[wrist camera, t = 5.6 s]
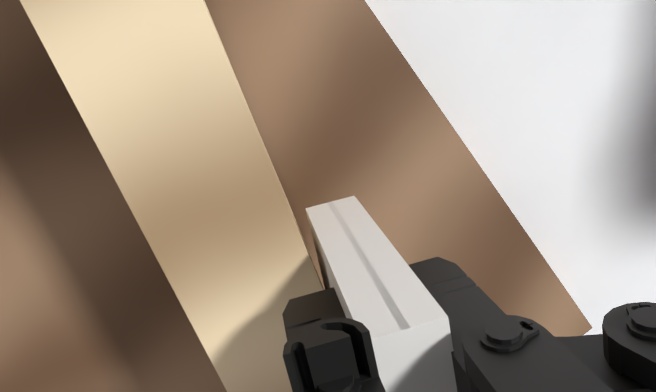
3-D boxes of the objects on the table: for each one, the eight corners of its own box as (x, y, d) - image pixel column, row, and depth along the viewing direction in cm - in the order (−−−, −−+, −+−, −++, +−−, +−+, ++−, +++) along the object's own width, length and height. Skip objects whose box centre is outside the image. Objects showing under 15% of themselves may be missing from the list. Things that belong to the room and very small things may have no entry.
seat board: (-451, 186, 14) (-788, 261, 9) (117, -321, 13) (59, -516, 9) (182, 602, 22) (171, 754, 17) (560, 302, 21) (654, 377, 17)
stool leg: (-1, -142, 12) (-116, -232, 8) (131, -188, 12) (85, -300, 8) (264, 389, 18) (277, 499, 13) (353, 351, 18) (393, 447, 14)
